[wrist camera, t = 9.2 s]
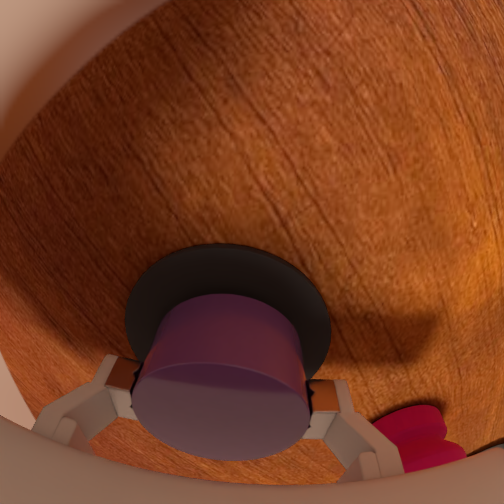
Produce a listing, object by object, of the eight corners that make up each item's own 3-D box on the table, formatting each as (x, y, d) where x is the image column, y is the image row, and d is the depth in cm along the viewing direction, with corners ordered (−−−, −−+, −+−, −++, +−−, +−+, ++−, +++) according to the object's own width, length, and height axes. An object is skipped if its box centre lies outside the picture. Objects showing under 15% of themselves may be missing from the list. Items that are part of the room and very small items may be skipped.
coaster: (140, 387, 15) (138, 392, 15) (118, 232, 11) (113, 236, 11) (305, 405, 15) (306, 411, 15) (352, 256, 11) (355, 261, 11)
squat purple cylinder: (162, 389, 14) (145, 448, 10) (150, 283, 11) (116, 347, 8) (287, 402, 14) (291, 464, 10) (315, 300, 11) (332, 371, 8)
